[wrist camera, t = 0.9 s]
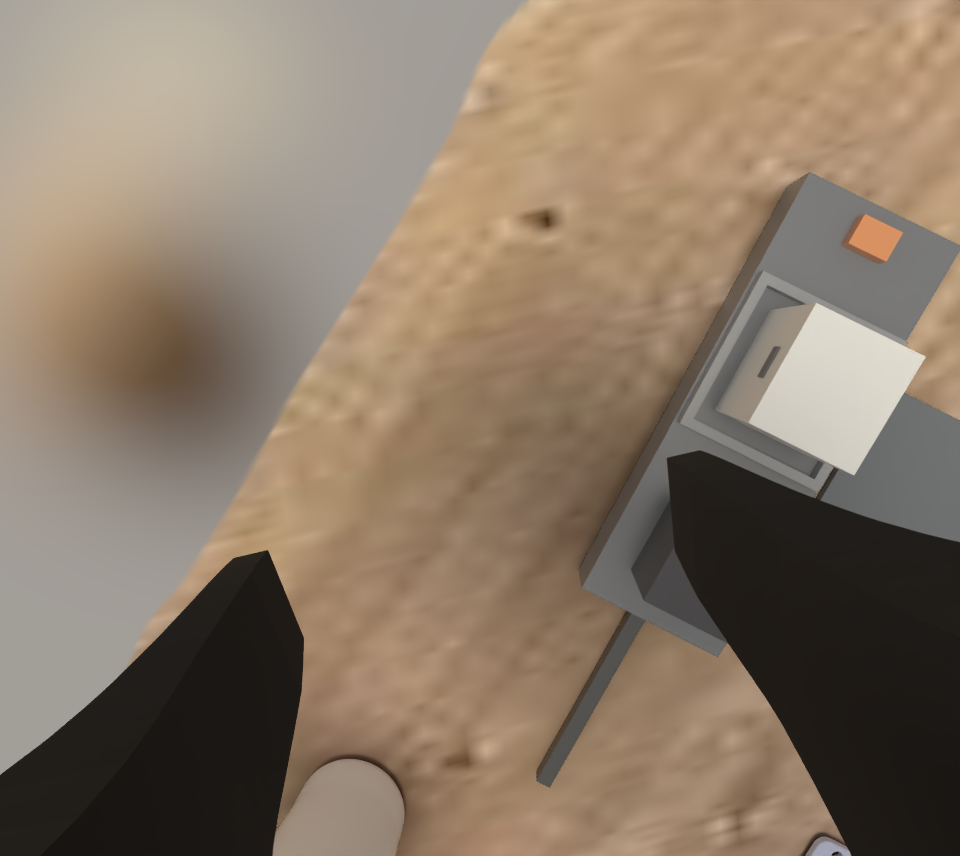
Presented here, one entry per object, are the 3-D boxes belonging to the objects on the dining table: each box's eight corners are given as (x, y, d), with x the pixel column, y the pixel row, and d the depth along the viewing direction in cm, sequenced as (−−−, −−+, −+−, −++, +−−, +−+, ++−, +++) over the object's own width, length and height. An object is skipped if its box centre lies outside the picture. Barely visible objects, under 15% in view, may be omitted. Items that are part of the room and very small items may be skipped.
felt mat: (1074, 479, 29) (1081, 480, 28) (958, 653, 30) (964, 657, 30) (883, 385, 29) (889, 385, 29) (778, 562, 30) (781, 565, 30)
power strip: (926, 254, 28) (1028, 231, 22) (602, 805, 32) (616, 906, 27) (787, 186, 28) (851, 145, 22) (483, 744, 33) (471, 831, 27)
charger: (861, 354, 27) (925, 356, 22) (802, 454, 27) (854, 475, 23) (768, 308, 27) (814, 301, 22) (712, 409, 27) (746, 421, 23)
